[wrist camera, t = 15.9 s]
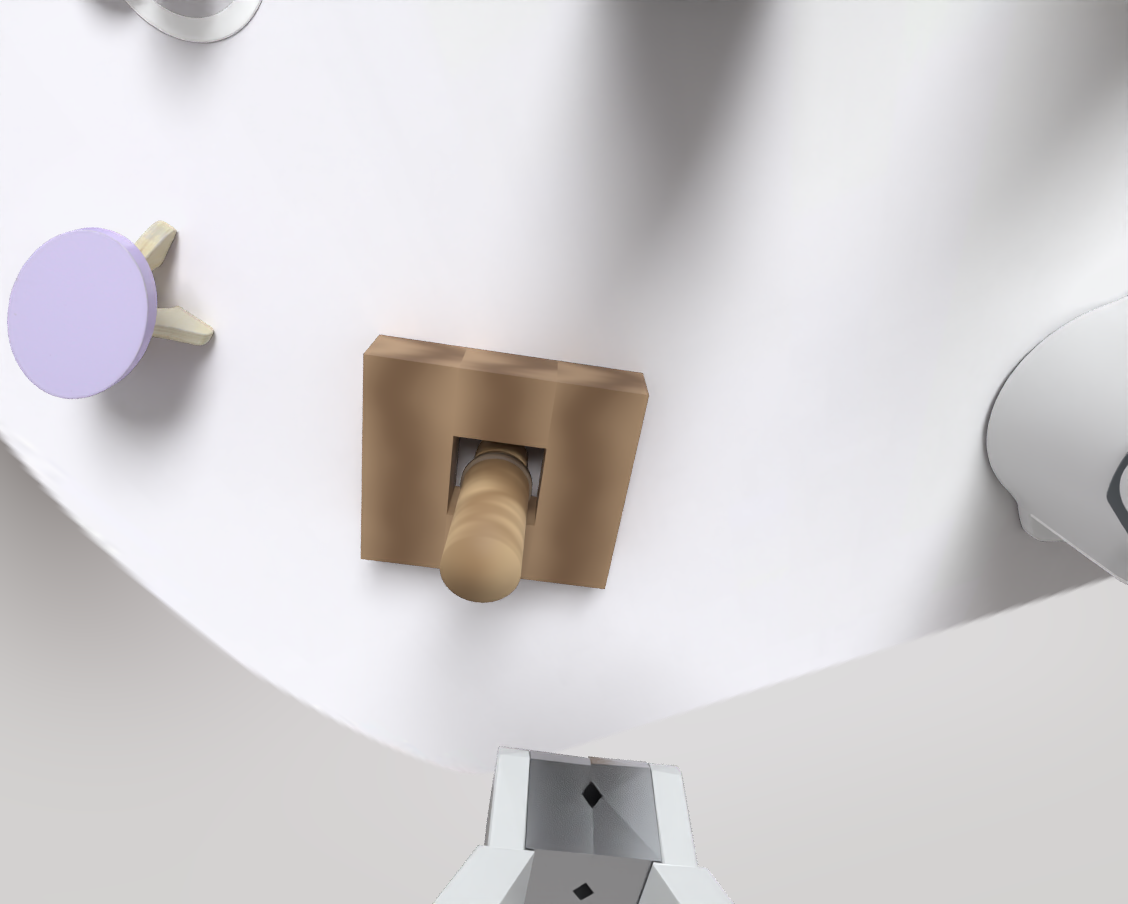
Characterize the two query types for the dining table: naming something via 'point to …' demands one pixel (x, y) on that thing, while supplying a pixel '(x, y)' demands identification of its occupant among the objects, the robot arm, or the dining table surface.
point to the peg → (488, 524)
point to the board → (501, 414)
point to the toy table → (93, 310)
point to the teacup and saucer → (197, 20)
